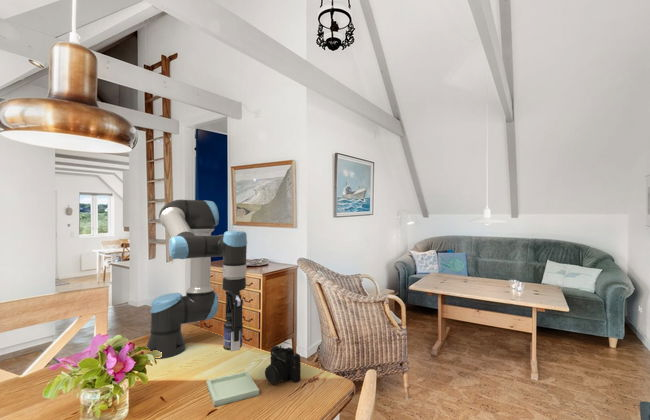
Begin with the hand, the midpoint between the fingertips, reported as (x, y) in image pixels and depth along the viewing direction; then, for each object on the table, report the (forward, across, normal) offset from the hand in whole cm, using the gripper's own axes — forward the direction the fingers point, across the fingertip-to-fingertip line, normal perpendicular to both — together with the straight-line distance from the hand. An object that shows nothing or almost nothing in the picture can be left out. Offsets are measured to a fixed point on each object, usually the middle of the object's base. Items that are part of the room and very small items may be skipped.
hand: (232, 346), depth 108 cm
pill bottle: (+1, 0, 0) cm, 1 cm away
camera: (+15, 0, +17) cm, 22 cm away
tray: (+15, 0, 0) cm, 15 cm away
